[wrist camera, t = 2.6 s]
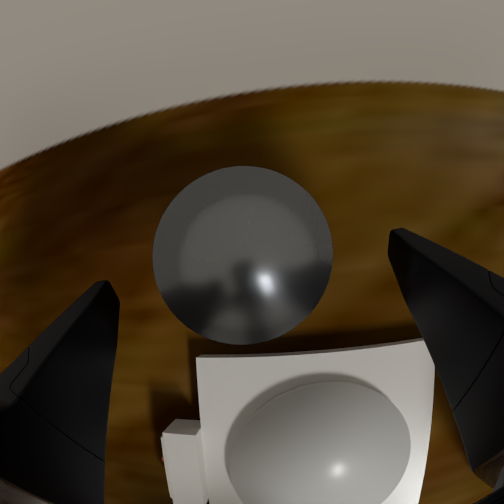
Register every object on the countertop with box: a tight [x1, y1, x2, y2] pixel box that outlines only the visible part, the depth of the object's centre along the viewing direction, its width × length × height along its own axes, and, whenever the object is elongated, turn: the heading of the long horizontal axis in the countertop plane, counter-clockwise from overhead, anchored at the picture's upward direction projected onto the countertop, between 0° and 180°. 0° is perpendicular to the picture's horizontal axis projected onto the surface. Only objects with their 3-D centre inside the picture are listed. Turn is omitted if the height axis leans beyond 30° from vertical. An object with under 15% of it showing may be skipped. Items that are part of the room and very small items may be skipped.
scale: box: [161, 338, 435, 504], centre depth 14 cm, size 13×15×2 cm
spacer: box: [153, 166, 333, 345], centre depth 12 cm, size 4×4×10 cm
